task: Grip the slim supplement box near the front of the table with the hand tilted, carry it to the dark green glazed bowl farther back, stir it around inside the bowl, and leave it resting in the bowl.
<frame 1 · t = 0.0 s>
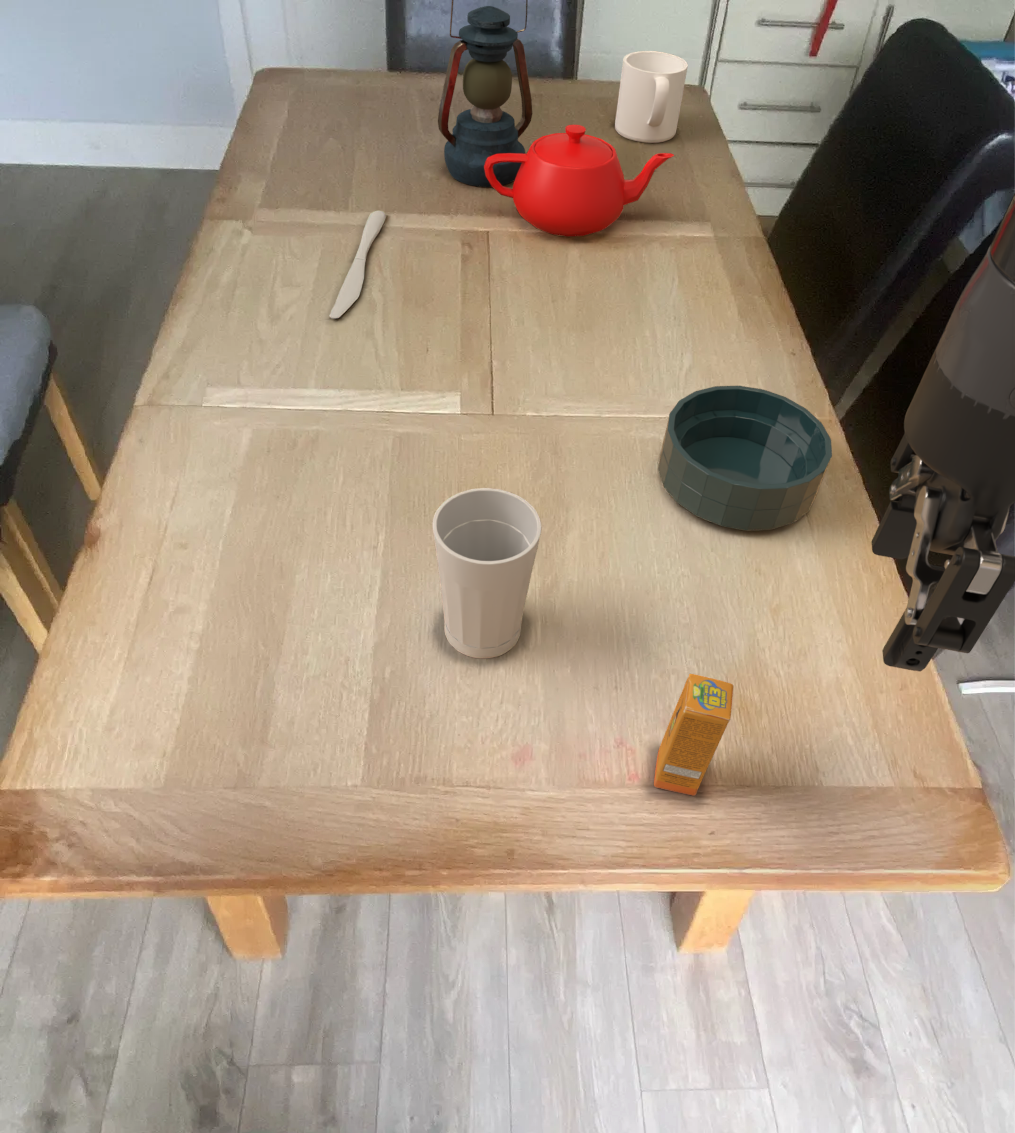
hand: (894, 604, 52), 20 cm above the table, tool pointing down, fingers open, 8 cm apart
cup: (482, 629, 75), on the table
lantern: (484, 173, 134), on the table
supplement box: (677, 775, 66), on the table
butter knife: (361, 264, 114), on the table
mug: (646, 135, 147), on the table
bowl: (734, 481, 89), on the table
teapot: (572, 220, 125), on the table
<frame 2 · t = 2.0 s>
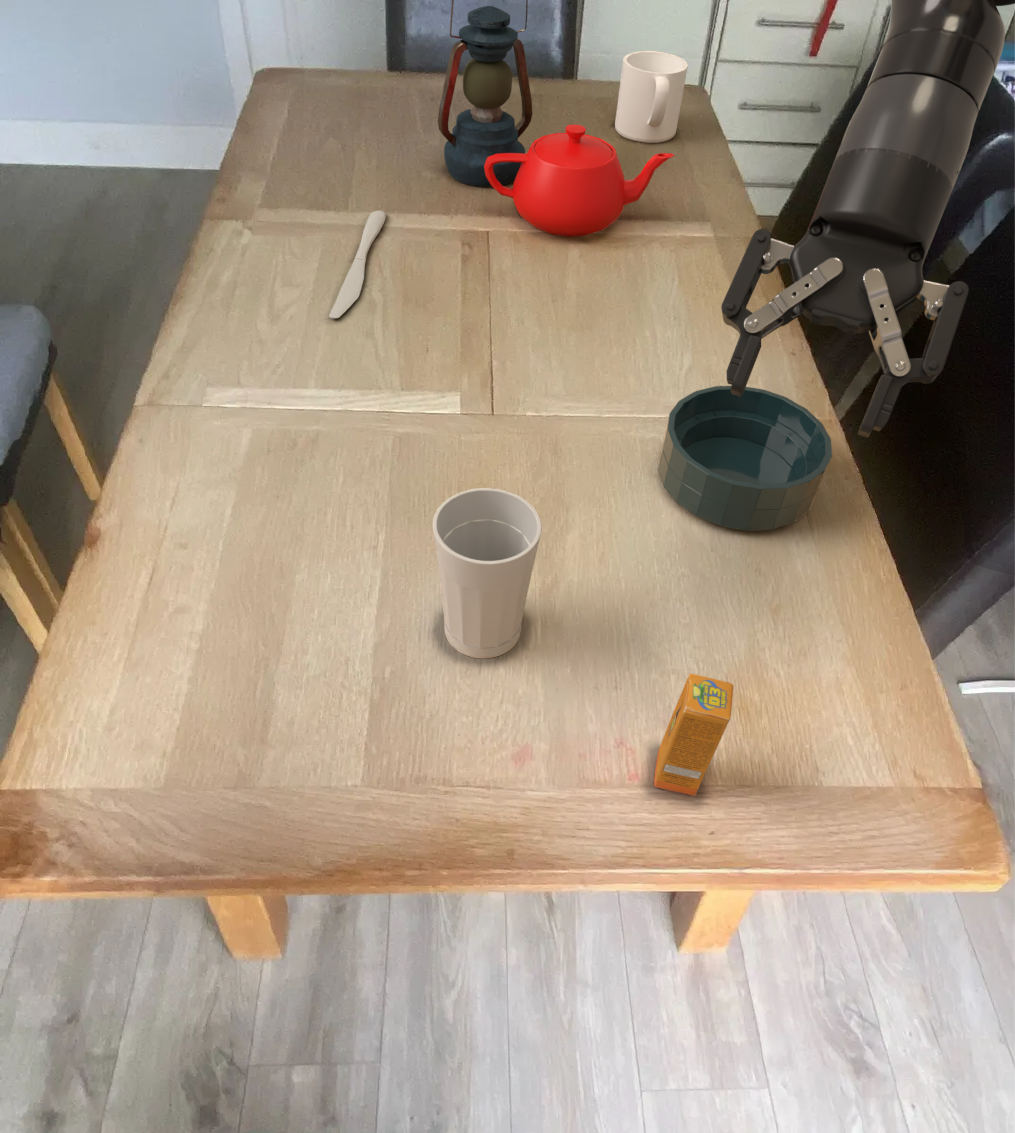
hand: (798, 413, 59), 23 cm above the table, tool tilted 45°, fingers open, 8 cm apart
nothing on the table moved.
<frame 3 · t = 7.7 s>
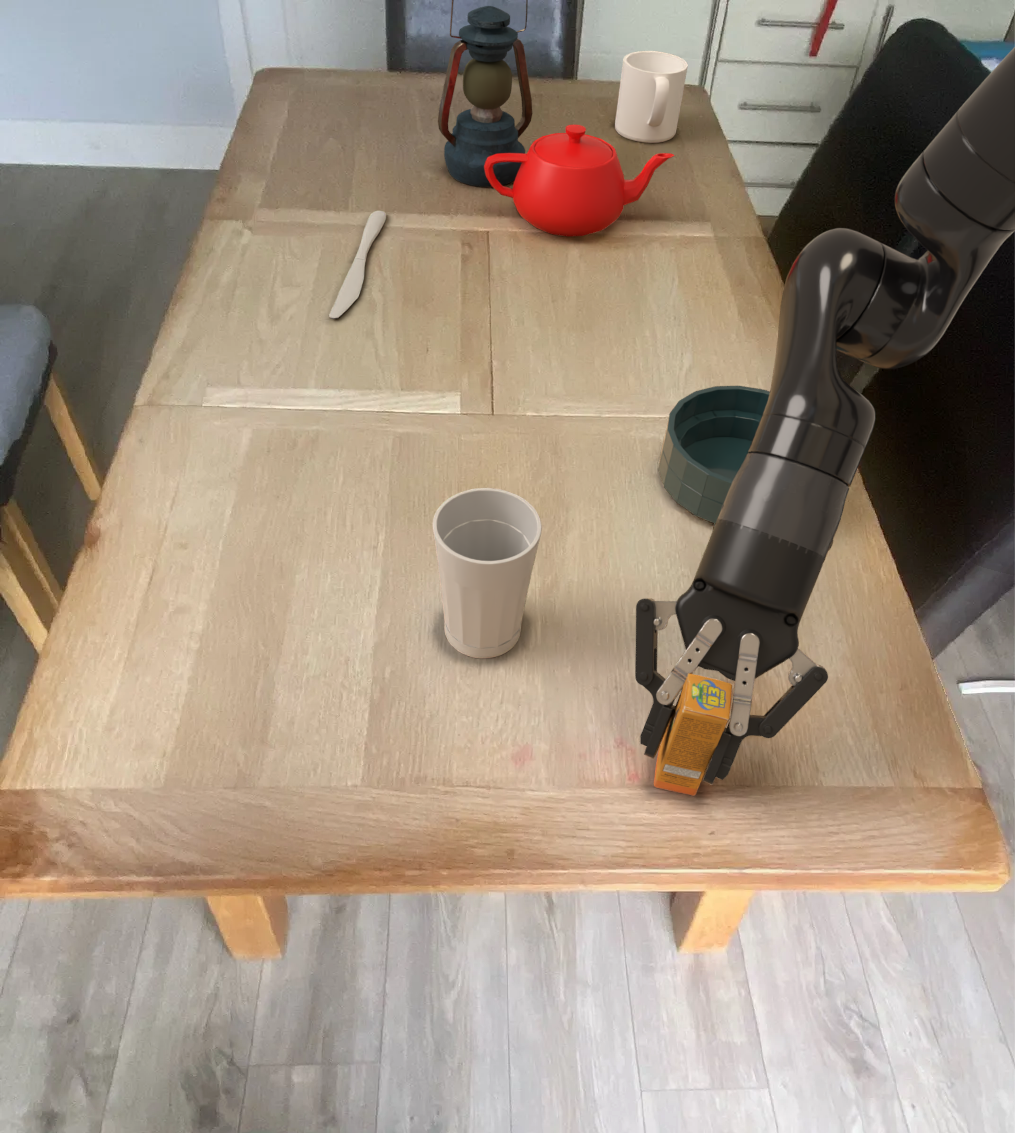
hand: (679, 766, 62), 4 cm above the table, tool tilted 45°, fingers closed on supplement box, 3 cm apart
supplement box: (677, 775, 66), on the table, touching gripper
everything else where it was.
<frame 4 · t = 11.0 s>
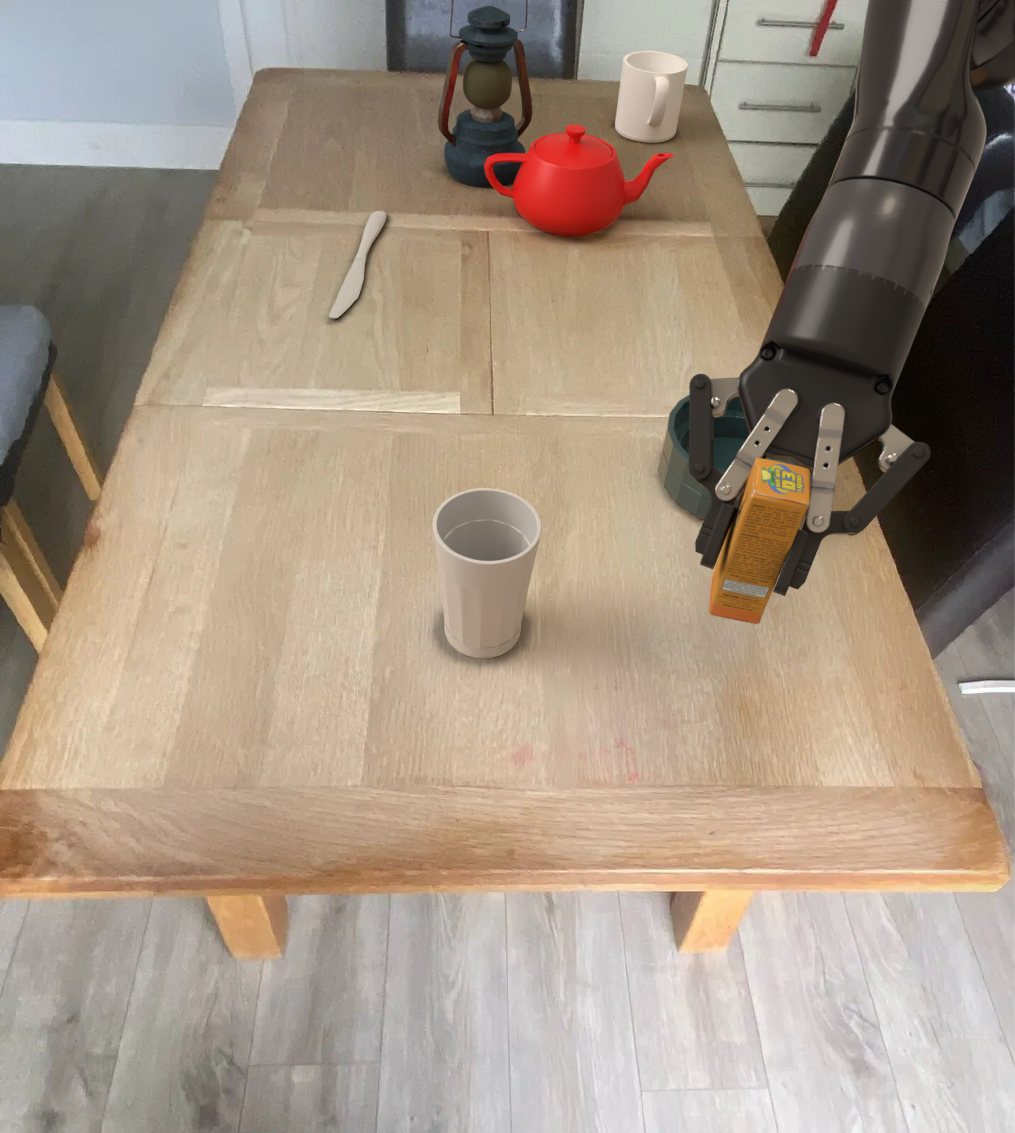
hand: (743, 579, 51), 21 cm above the table, tool tilted 45°, fingers closed on supplement box, 3 cm apart
supplement box: (736, 604, 55), point 17 cm above the table, touching gripper
everything else where it was.
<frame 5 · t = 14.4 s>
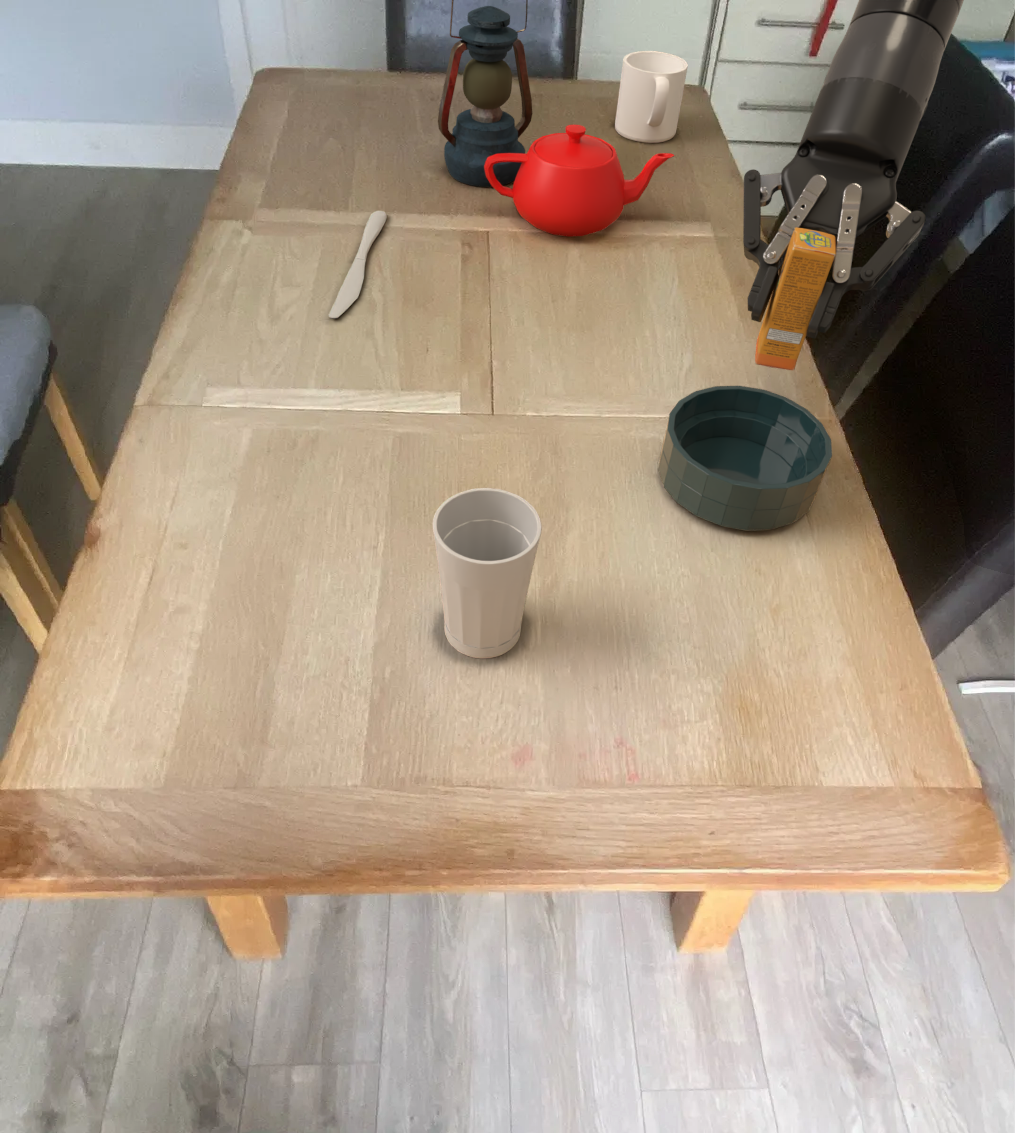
hand: (783, 325, 68), 22 cm above the table, tool tilted 45°, fingers closed on supplement box, 3 cm apart
supplement box: (775, 359, 72), point 18 cm above the table, touching gripper
everything else where it was.
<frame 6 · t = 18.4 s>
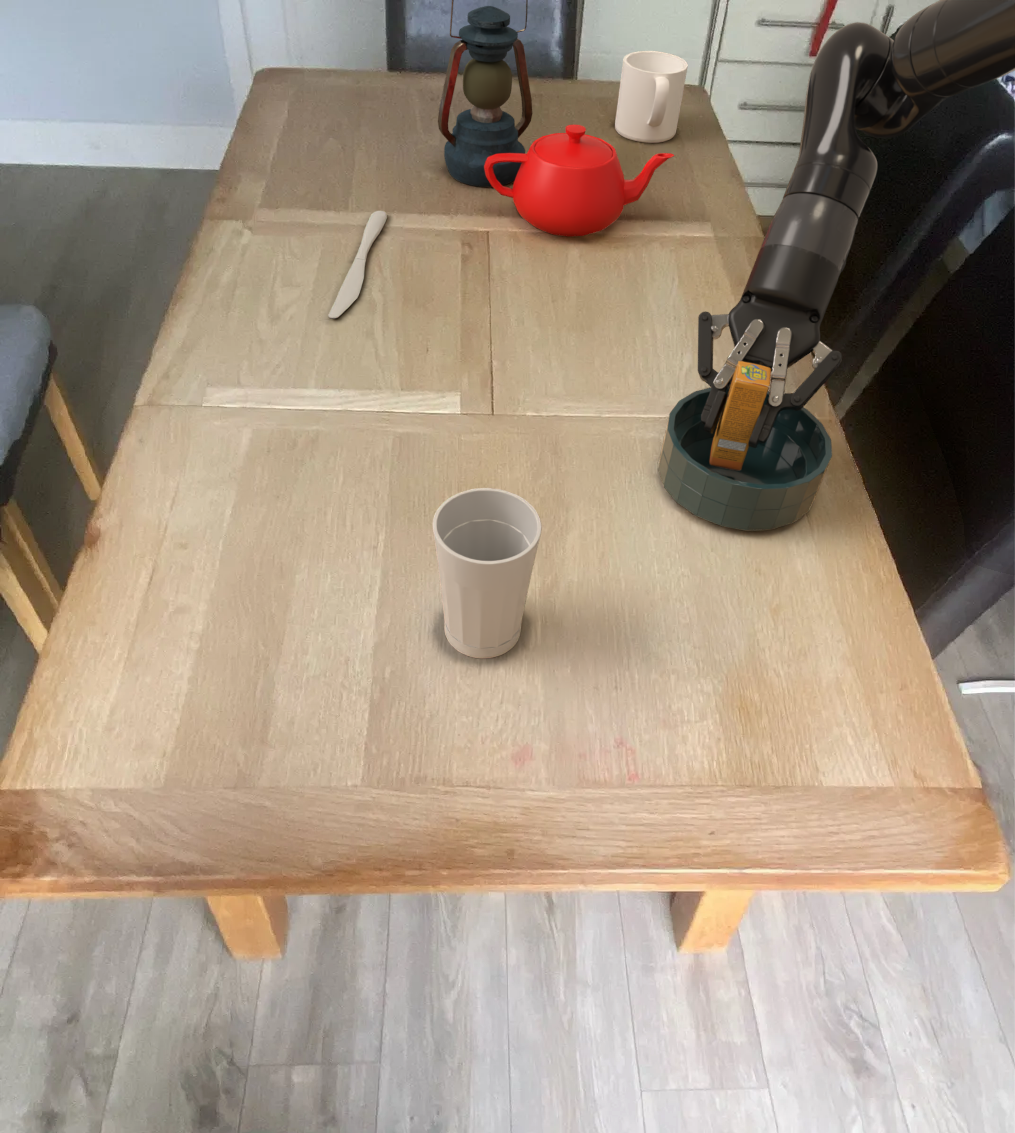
hand: (730, 437, 83), 6 cm above the table, tool tilted 45°, fingers closed on supplement box, 3 cm apart
supplement box: (727, 460, 88), point 2 cm above the table, touching gripper
everything else where it was.
when the fingers open (5 cm above the table, at t = 21.5 s): supplement box stays where it is, resting on bowl.
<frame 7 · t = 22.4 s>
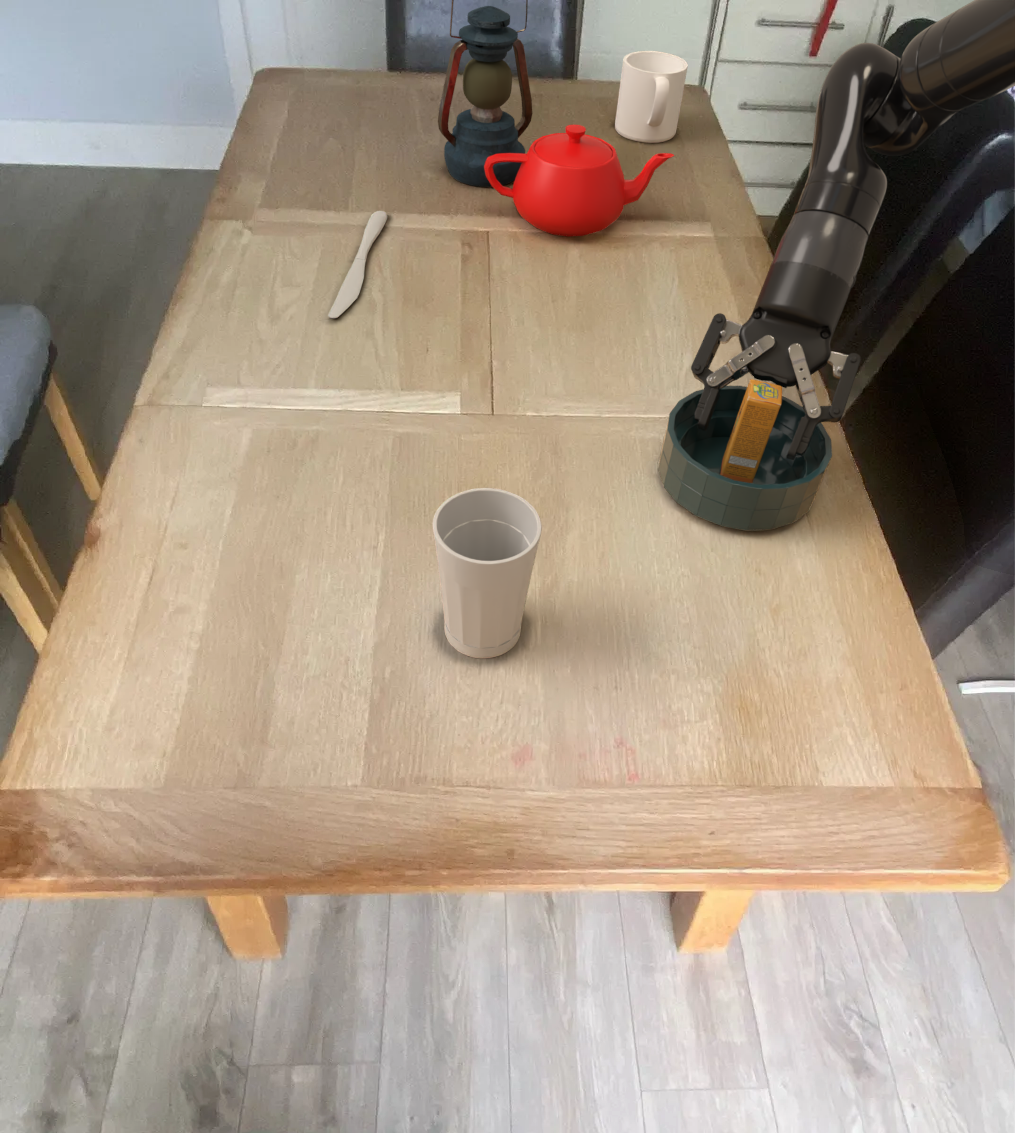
hand: (745, 443, 84), 6 cm above the table, tool tilted 45°, fingers open, 8 cm apart
supplement box: (737, 476, 89), point 1 cm above the table, touching bowl
everything else where it was.
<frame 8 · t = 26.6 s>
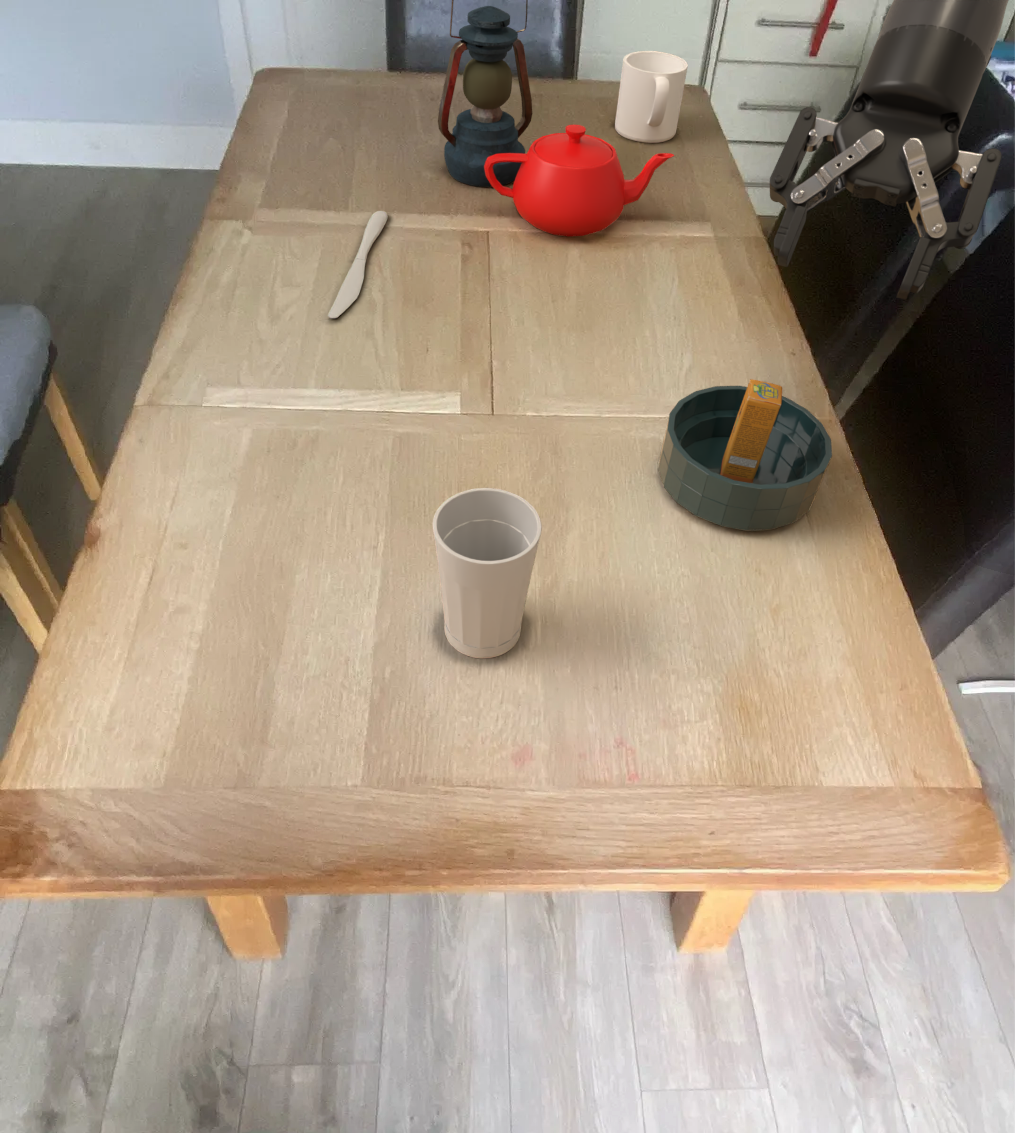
hand: (841, 278, 64), 27 cm above the table, tool tilted 45°, fingers open, 8 cm apart
nothing on the table moved.
at the end: supplement box inside the target area in the bowl (0.1 cm from its centre), point 0.6 cm above the bowl's base; supplement box moved 34.3 cm from its start; the gripper is holding nothing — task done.
